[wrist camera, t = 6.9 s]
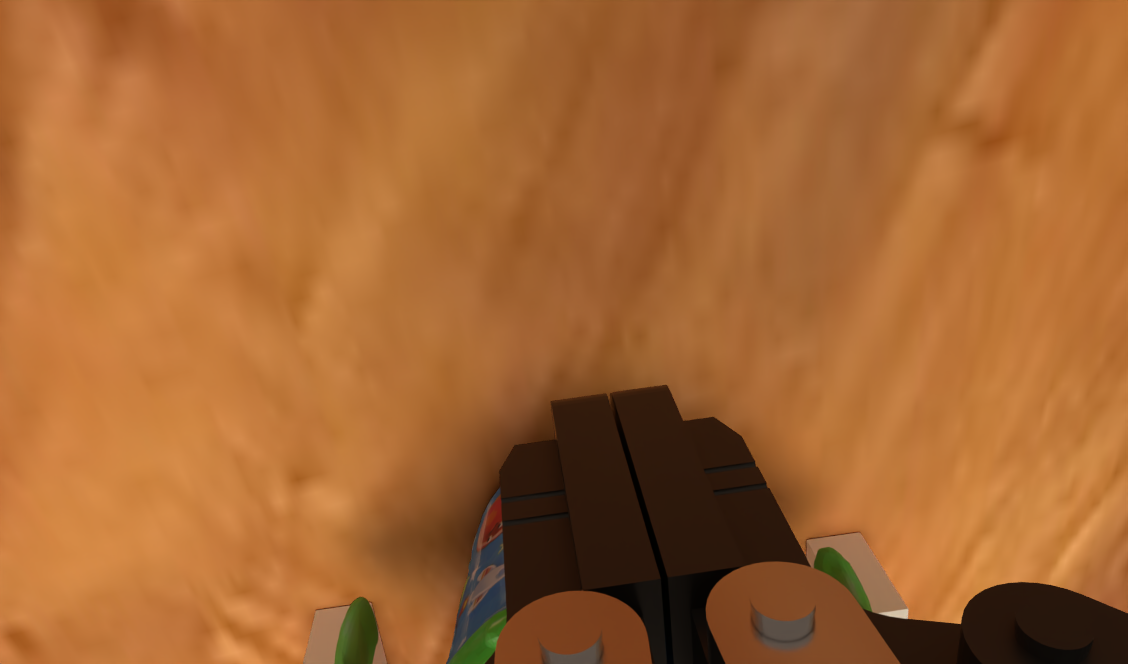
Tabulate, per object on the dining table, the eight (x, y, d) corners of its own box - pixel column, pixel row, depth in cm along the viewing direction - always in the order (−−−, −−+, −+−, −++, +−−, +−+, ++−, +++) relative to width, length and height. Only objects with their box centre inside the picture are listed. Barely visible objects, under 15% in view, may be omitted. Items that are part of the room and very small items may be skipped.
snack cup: (824, 395, 30) (979, 606, 20) (776, 634, 34) (887, 897, 25) (353, 393, 28) (290, 620, 19) (367, 644, 32) (321, 928, 23)
